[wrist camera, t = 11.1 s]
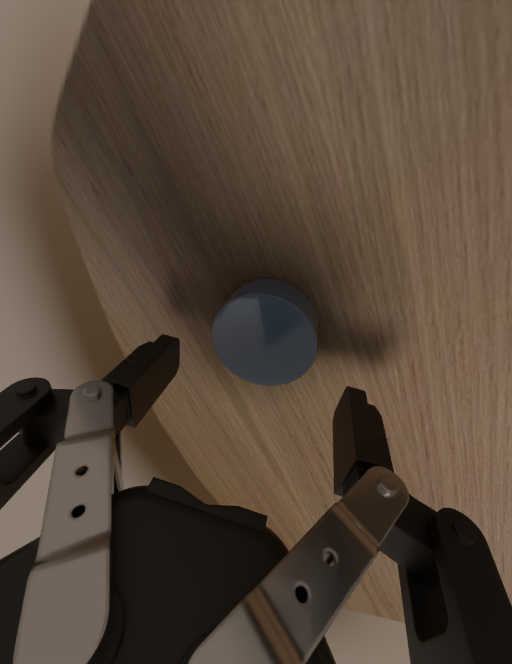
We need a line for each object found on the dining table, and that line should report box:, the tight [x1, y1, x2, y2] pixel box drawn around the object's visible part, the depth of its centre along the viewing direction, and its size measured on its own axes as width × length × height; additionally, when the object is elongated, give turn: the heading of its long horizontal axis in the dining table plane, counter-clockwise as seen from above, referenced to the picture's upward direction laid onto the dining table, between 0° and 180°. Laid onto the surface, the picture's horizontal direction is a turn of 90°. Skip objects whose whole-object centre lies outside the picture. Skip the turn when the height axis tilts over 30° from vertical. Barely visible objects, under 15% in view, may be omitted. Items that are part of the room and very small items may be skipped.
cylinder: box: [211, 279, 319, 386], centre depth 16 cm, size 6×6×2 cm
